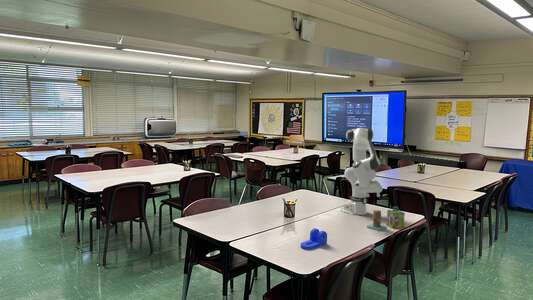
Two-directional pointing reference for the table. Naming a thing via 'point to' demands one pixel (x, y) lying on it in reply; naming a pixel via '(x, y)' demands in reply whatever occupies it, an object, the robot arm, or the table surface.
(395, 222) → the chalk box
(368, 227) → the teal pad
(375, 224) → the walnut block
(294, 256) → the table surface
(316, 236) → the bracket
